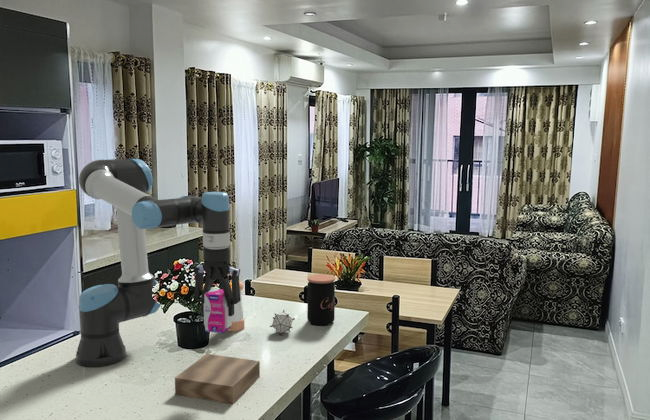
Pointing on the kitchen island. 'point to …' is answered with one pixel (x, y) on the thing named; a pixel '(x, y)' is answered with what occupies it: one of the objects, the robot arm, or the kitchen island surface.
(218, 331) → the supplement box
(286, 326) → the spiky geometric ball
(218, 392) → the block
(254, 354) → the kitchen island surface
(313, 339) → the kitchen island surface
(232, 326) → the pepper shaker
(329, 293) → the coffee jar
